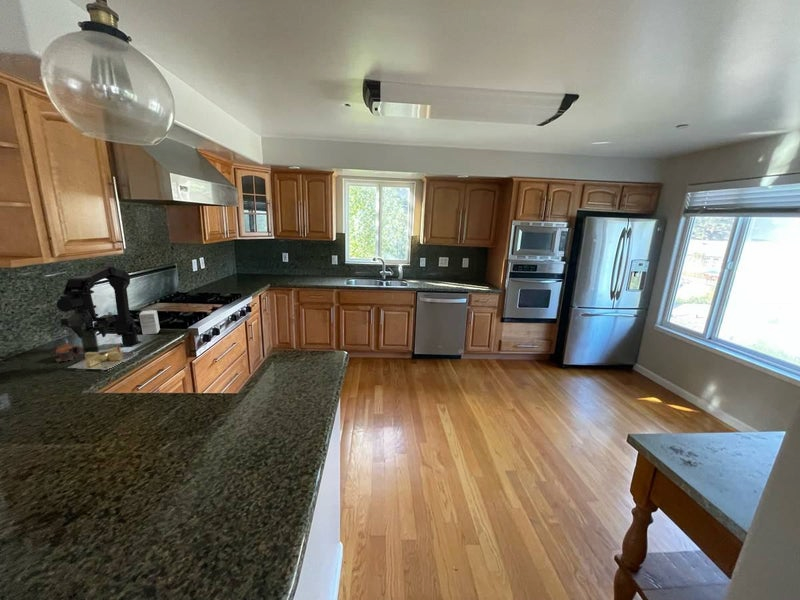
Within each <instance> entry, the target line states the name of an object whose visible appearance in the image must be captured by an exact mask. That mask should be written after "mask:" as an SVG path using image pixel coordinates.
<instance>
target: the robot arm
mask: <svg viewBox="0 0 800 600" xmlns="http://www.w3.org/2000/svg"><path fill="white" fill-rule="evenodd" d="M104 279H106V280H107V281H108V283H109V284H108V285H110V286H111V288H113V290H114V299H115V306H116V314H117V317H116V316H115V315H114V314H104V315H101V316H99V314H98V313H96V308H97V305H96V304H94V301H93V300H94V299H93V296H92V294H94V293H95V291H94V290H92V289H93V288H94V287H95V284H96V283H97V282H100V281H101V280H104ZM130 284H131V275H130V274H129V273H128V272H127V271H124V270H121V269H119V268H116V267H115V266H111V265H103V266H100V267H99V268H97V269H95V270H93V271H91V272H88V273H87V274H85V275H78V276H73V277H70V278H68V279H67V280H66V283H65V287H64V289H63V294H62V295H60V296H59V298H60V299H59V300H58V301H57V302H56V303H55V305H56V307H57V309H58V310H59V311H61V312H64V313H69V312H72V311H73V314H71V315H68V316H65V317H63V318H62V317H61V318H60V321H59V323H60V326H64V327H65V328H70V329H72V331H73V332H74V333H75V334H76V336H78V338H79V339H81V338H82V339H83V325H85V323H92V322H93V323H95V322H97V327H99V328H100V333H101V336H102V338H104V337H106V335H107V332H108V330H109V327H110V325H111V323H113V329H114V331H115V333H116V335H117V336H121V342H122V344H120V347H134V346H136V345H138V344H139V343H142V341H141V340H139V338H138V334H139V333H141V326H139V325H137V324H136V322H135V321H136V320H135V318H133V317H132V316H131V315H130V313H131V312H130V306H129V305H130V304H129V298H128V297H129V296H128V287H129V285H130Z"/></svg>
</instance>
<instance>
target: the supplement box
mask: <svg viewBox="0 0 800 600" xmlns="http://www.w3.org/2000/svg"><path fill="white" fill-rule="evenodd" d="M138 315H139V322H140V329H141V332H142V335H143V336H145V335H154V334H158V333H159V331H160V330H161V328H160V321H159V315H158V311H157V309H156V310H155V309H152V310H143V311H141V312H140V313H139V314H138Z"/></svg>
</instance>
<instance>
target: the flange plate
mask: <svg viewBox="0 0 800 600" xmlns="http://www.w3.org/2000/svg"><path fill="white" fill-rule="evenodd" d="M120 353H122V358H123V359H121V360H107V361H102V362H99V363H97V364H95V365H93V366H91V367H87V365H86V361H85V360H87V359H85V358H83V359H82V360H80V361H79V362H78V361H77V363H74V364H72V365H70V366H68V367H66V369H67V368H77V369H109V368H112V367H114V366H116V365H118V364H120V363H122V362H124V363H126V362H128V360H131V359H133V358H135V357H136V356H138V355H139V352H137V351H136V352H135V351H133V352H131V351H120ZM122 364H123V363H122ZM120 365H121V364H120ZM118 366H119V365H118ZM116 367H117V366H116ZM114 368H115V367H114ZM112 369H113V368H112Z"/></svg>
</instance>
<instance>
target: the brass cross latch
mask: <svg viewBox="0 0 800 600" xmlns="http://www.w3.org/2000/svg"><path fill="white" fill-rule="evenodd" d="M120 352H121V348H120V346H113V347H112V348H109V349H107V350H103V351H97V352H95V351H87V352H85V353H84V357H85V358H84V359H87V360H85V361H86V365H87V367H91V366H93V365H95V364H97V363H99V362H102V361H107V360H121V359H123V358H122V353H120Z"/></svg>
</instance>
